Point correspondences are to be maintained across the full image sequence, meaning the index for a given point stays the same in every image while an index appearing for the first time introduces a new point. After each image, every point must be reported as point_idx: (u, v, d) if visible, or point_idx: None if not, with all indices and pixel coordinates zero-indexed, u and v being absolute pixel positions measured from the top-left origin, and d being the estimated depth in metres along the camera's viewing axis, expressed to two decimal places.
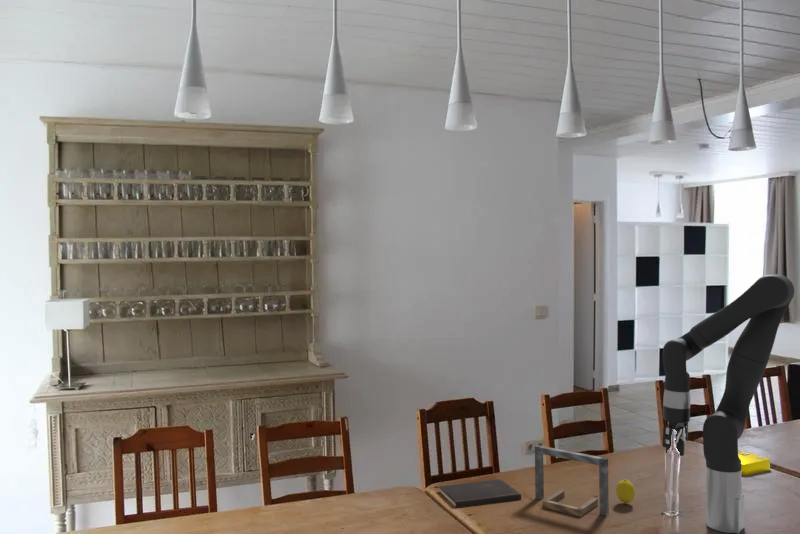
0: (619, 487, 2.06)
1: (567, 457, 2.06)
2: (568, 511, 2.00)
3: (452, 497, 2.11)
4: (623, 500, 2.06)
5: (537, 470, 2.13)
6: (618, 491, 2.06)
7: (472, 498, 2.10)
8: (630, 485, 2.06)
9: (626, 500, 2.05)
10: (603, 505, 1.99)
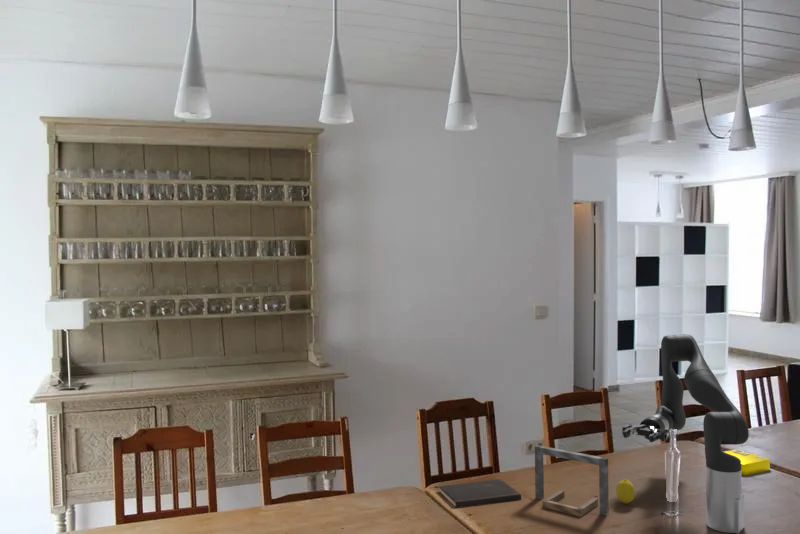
0: (619, 487, 2.06)
1: (567, 457, 2.06)
2: (568, 511, 2.00)
3: (452, 497, 2.11)
4: (623, 500, 2.06)
5: (537, 470, 2.13)
6: (618, 491, 2.06)
7: (472, 498, 2.10)
8: (630, 485, 2.06)
9: (626, 500, 2.05)
10: (603, 505, 1.99)
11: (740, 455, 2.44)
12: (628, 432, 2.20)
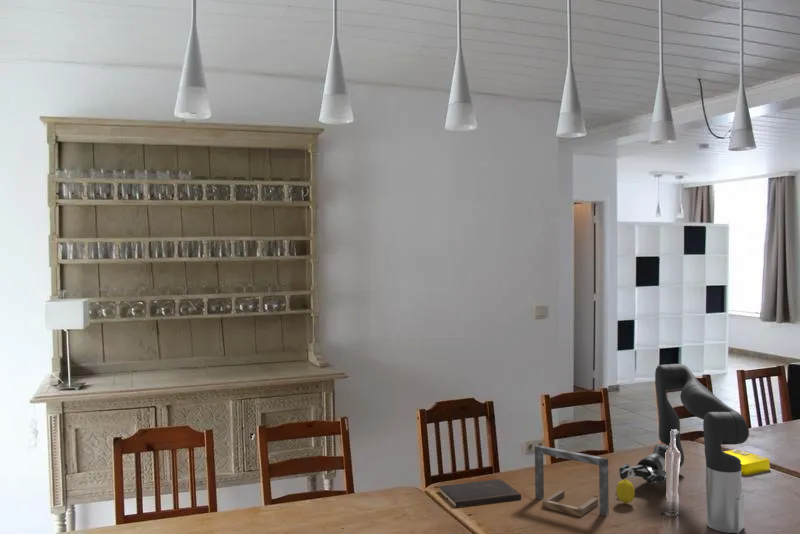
0: (619, 487, 2.06)
1: (567, 457, 2.06)
2: (568, 511, 2.00)
3: (452, 497, 2.11)
4: (623, 500, 2.06)
5: (537, 470, 2.13)
6: (618, 492, 2.06)
7: (472, 498, 2.10)
8: (630, 485, 2.06)
9: (626, 500, 2.05)
10: (603, 505, 1.99)
11: (740, 455, 2.44)
12: (625, 473, 2.18)
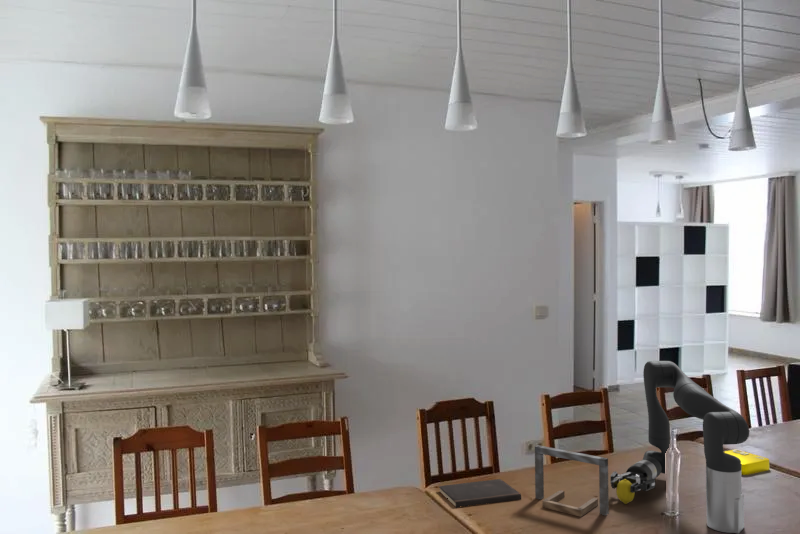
0: (619, 487, 2.06)
1: (567, 457, 2.06)
2: (568, 511, 2.00)
3: (452, 497, 2.11)
4: (623, 500, 2.06)
5: (537, 470, 2.13)
6: (618, 491, 2.06)
7: (472, 498, 2.10)
8: (630, 485, 2.06)
9: (626, 500, 2.05)
10: (603, 505, 1.99)
11: (740, 455, 2.44)
12: (616, 482, 2.09)
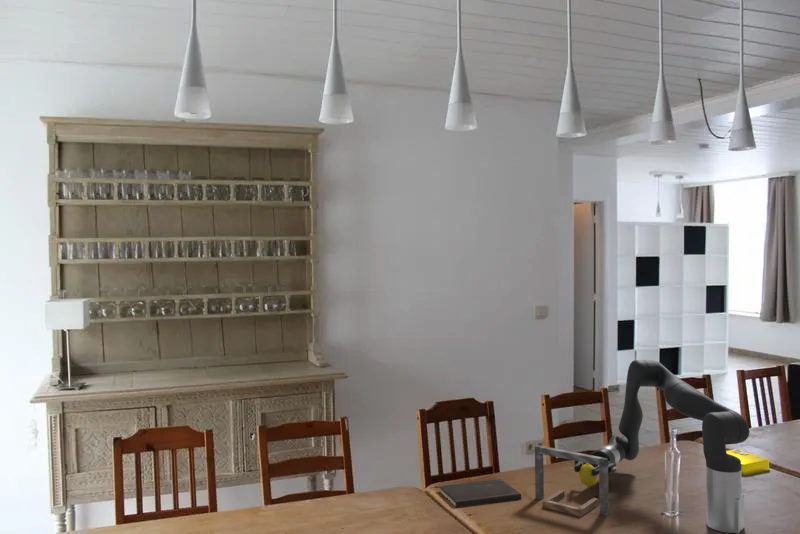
0: (581, 471, 2.16)
1: (567, 457, 2.06)
2: (568, 511, 2.00)
3: (452, 497, 2.11)
4: (585, 483, 2.15)
5: (537, 470, 2.13)
6: (581, 475, 2.16)
7: (472, 498, 2.10)
8: None
9: (588, 483, 2.15)
10: (603, 505, 1.99)
11: (739, 455, 2.44)
12: (579, 466, 2.18)
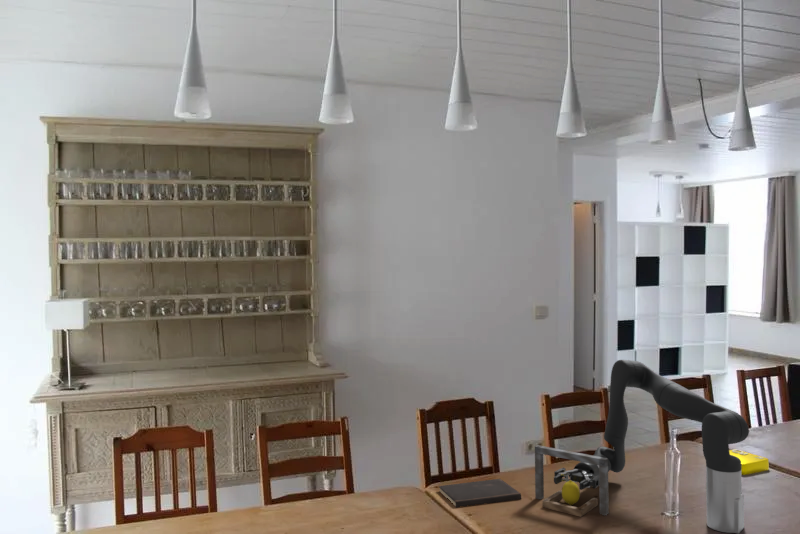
0: (564, 488, 2.06)
1: (567, 457, 2.06)
2: (568, 511, 2.00)
3: (452, 497, 2.11)
4: (568, 501, 2.05)
5: (537, 470, 2.13)
6: (563, 493, 2.06)
7: (472, 498, 2.10)
8: (575, 486, 2.05)
9: (571, 501, 2.05)
10: (603, 505, 1.99)
11: (739, 455, 2.44)
12: (559, 478, 2.10)
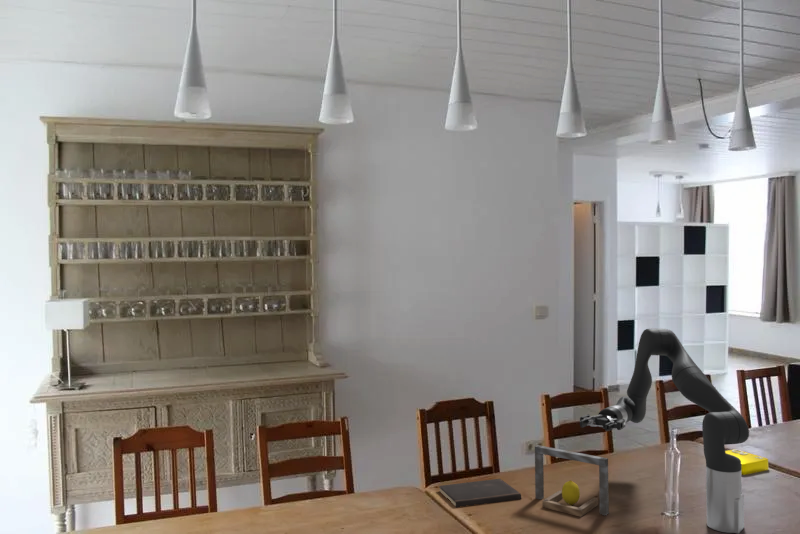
0: (564, 488, 2.06)
1: (567, 457, 2.06)
2: (568, 511, 2.00)
3: (452, 497, 2.11)
4: (568, 501, 2.05)
5: (537, 470, 2.13)
6: (563, 493, 2.06)
7: (472, 498, 2.10)
8: (575, 486, 2.05)
9: (571, 501, 2.05)
10: (603, 505, 1.99)
11: (739, 455, 2.44)
12: (585, 422, 2.20)
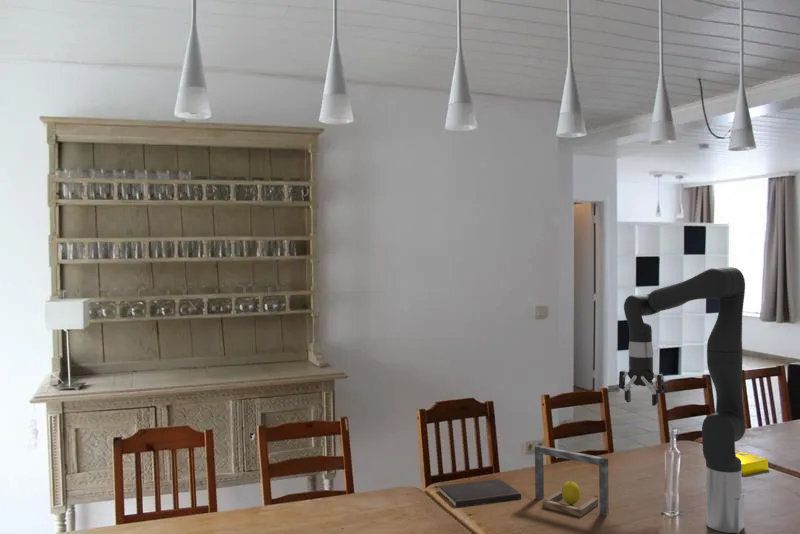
0: (564, 488, 2.06)
1: (567, 457, 2.06)
2: (568, 511, 2.00)
3: (452, 497, 2.11)
4: (568, 501, 2.05)
5: (537, 470, 2.13)
6: (563, 493, 2.06)
7: (472, 497, 2.10)
8: (575, 486, 2.05)
9: (571, 501, 2.05)
10: (603, 505, 1.99)
11: (738, 455, 2.44)
12: (629, 395, 2.18)
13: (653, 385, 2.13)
